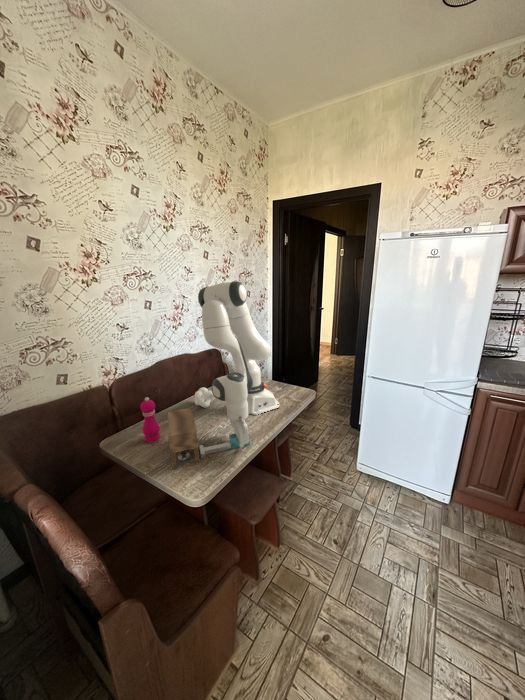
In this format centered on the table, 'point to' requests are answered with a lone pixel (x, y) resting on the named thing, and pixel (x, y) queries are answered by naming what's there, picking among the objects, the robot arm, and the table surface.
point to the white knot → (203, 397)
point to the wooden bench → (182, 433)
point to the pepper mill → (150, 421)
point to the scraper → (222, 446)
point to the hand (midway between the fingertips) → (239, 441)
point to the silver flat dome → (183, 456)
